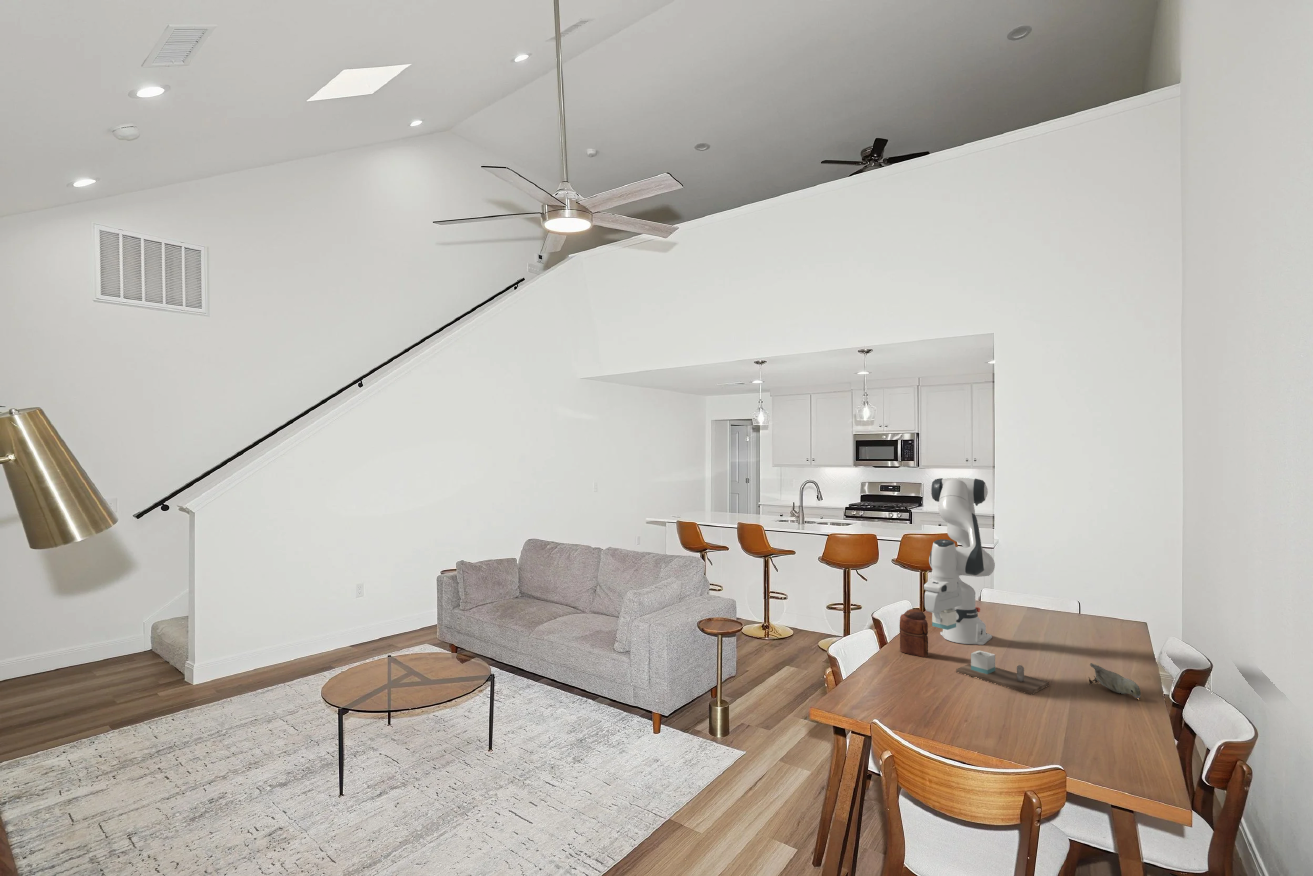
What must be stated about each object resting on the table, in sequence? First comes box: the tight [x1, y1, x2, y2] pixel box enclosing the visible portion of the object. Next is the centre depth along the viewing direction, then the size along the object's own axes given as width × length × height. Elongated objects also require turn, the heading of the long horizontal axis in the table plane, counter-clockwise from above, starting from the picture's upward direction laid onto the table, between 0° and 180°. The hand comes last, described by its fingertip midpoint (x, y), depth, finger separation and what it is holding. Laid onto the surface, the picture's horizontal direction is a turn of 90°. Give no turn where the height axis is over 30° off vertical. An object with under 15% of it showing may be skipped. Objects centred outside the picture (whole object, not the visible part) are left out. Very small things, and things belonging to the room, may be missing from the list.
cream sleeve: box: [931, 609, 956, 630], centre depth 232 cm, size 6×6×6 cm
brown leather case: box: [899, 608, 929, 658], centre depth 253 cm, size 12×6×18 cm, turn 49°
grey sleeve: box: [970, 649, 996, 674], centre depth 231 cm, size 6×6×6 cm
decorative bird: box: [1088, 662, 1142, 699], centre depth 214 cm, size 5×16×8 cm, turn 20°
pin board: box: [955, 655, 1050, 695], centre depth 225 cm, size 14×26×7 cm, turn 37°
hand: (944, 620), depth 232 cm, fingers closed on cream sleeve, 6 cm apart
